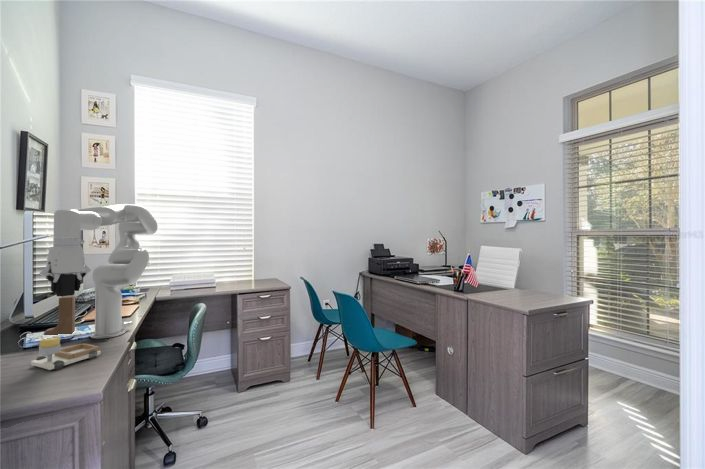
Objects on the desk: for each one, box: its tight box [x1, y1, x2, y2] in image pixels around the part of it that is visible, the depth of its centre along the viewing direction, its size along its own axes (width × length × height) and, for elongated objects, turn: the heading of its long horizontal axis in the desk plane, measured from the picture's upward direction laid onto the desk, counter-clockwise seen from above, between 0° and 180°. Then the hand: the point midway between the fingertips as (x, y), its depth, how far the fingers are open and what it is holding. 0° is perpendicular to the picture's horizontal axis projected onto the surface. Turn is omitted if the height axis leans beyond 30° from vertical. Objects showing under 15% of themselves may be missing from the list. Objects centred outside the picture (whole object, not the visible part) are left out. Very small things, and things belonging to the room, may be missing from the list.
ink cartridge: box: [55, 273, 76, 297], centre depth 119 cm, size 5×2×8 cm, turn 127°
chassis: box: [30, 343, 102, 371], centre depth 113 cm, size 15×11×5 cm
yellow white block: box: [38, 337, 62, 357], centre depth 108 cm, size 5×5×4 cm
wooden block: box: [43, 295, 76, 336], centre depth 136 cm, size 9×4×18 cm, turn 118°
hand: (66, 291), depth 119 cm, fingers closed on ink cartridge, 5 cm apart
